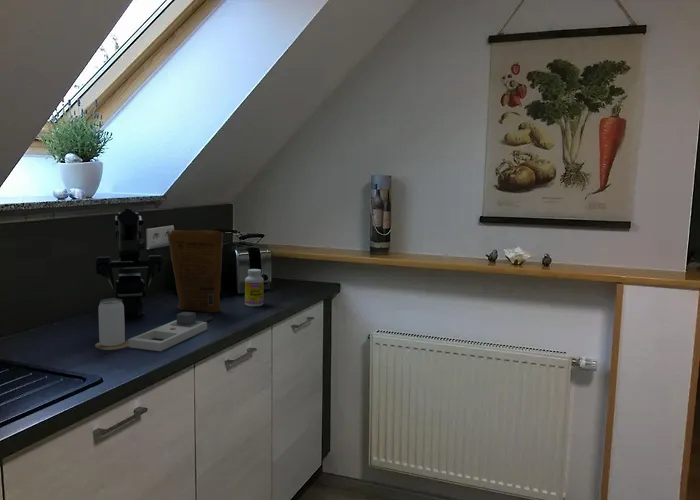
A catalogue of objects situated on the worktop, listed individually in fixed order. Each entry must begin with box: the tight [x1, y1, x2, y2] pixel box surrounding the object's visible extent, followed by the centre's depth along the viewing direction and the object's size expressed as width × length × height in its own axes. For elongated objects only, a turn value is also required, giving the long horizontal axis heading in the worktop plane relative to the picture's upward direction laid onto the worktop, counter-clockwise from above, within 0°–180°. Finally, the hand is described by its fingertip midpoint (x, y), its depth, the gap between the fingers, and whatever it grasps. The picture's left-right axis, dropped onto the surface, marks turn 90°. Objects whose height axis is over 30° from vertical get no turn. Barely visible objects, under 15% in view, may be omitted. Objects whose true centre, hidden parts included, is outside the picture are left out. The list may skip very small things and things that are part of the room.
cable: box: [202, 316, 213, 323], centre depth 191 cm, size 10×1×1 cm, turn 168°
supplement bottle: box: [244, 268, 265, 308], centre depth 217 cm, size 7×7×13 cm
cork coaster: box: [94, 339, 129, 351], centre depth 165 cm, size 9×9×1 cm
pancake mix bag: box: [167, 229, 224, 313], centre depth 205 cm, size 7×19×28 cm, turn 77°
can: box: [97, 298, 126, 347], centre depth 164 cm, size 6×6×12 cm
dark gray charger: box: [176, 311, 197, 325], centre depth 181 cm, size 4×4×3 cm
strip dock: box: [127, 319, 208, 352], centre depth 173 cm, size 10×24×2 cm, turn 163°
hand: (130, 288), depth 176 cm, fingers open, 9 cm apart
